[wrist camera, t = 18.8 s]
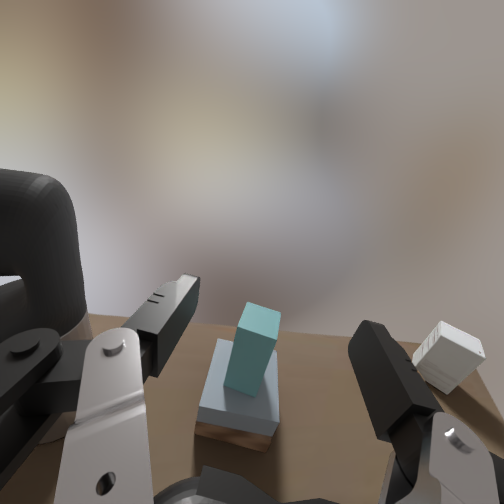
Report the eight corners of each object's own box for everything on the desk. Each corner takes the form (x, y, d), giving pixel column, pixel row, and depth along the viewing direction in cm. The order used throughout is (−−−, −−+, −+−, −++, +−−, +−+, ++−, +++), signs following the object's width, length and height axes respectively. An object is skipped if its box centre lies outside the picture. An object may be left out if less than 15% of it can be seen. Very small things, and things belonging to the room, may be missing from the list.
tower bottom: (193, 435, 30) (196, 421, 29) (215, 367, 40) (217, 353, 38) (264, 454, 30) (271, 441, 28) (268, 381, 40) (273, 368, 38)
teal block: (223, 385, 30) (237, 326, 25) (233, 356, 34) (247, 301, 29) (255, 397, 29) (276, 340, 24) (261, 366, 34) (280, 312, 29)
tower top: (196, 421, 29) (199, 405, 27) (215, 353, 39) (217, 338, 37) (271, 436, 29) (279, 422, 27) (271, 364, 39) (276, 351, 37)
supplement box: (446, 375, 50) (481, 339, 45) (447, 396, 45) (487, 359, 39) (412, 353, 54) (440, 319, 49) (409, 371, 49) (441, 334, 43)
